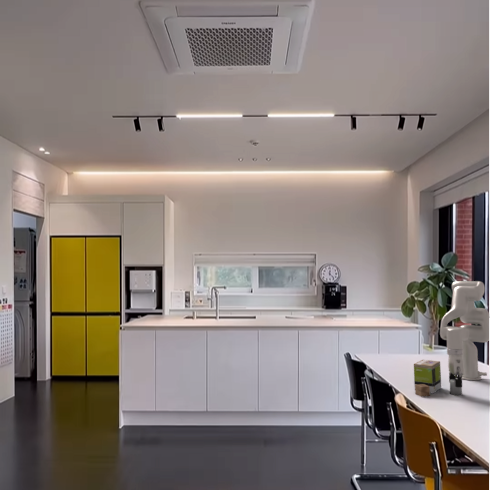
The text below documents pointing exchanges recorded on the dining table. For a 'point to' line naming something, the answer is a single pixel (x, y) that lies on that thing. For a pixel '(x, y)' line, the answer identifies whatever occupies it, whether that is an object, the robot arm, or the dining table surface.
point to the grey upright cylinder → (455, 388)
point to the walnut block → (422, 390)
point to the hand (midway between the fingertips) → (455, 385)
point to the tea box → (428, 374)
